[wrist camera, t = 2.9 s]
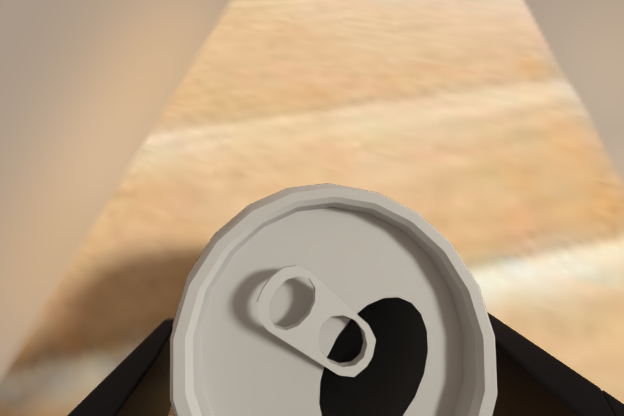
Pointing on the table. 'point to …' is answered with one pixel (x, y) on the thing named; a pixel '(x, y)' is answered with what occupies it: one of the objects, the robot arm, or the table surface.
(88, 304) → the table surface
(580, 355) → the table surface
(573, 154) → the table surface
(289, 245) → the can
